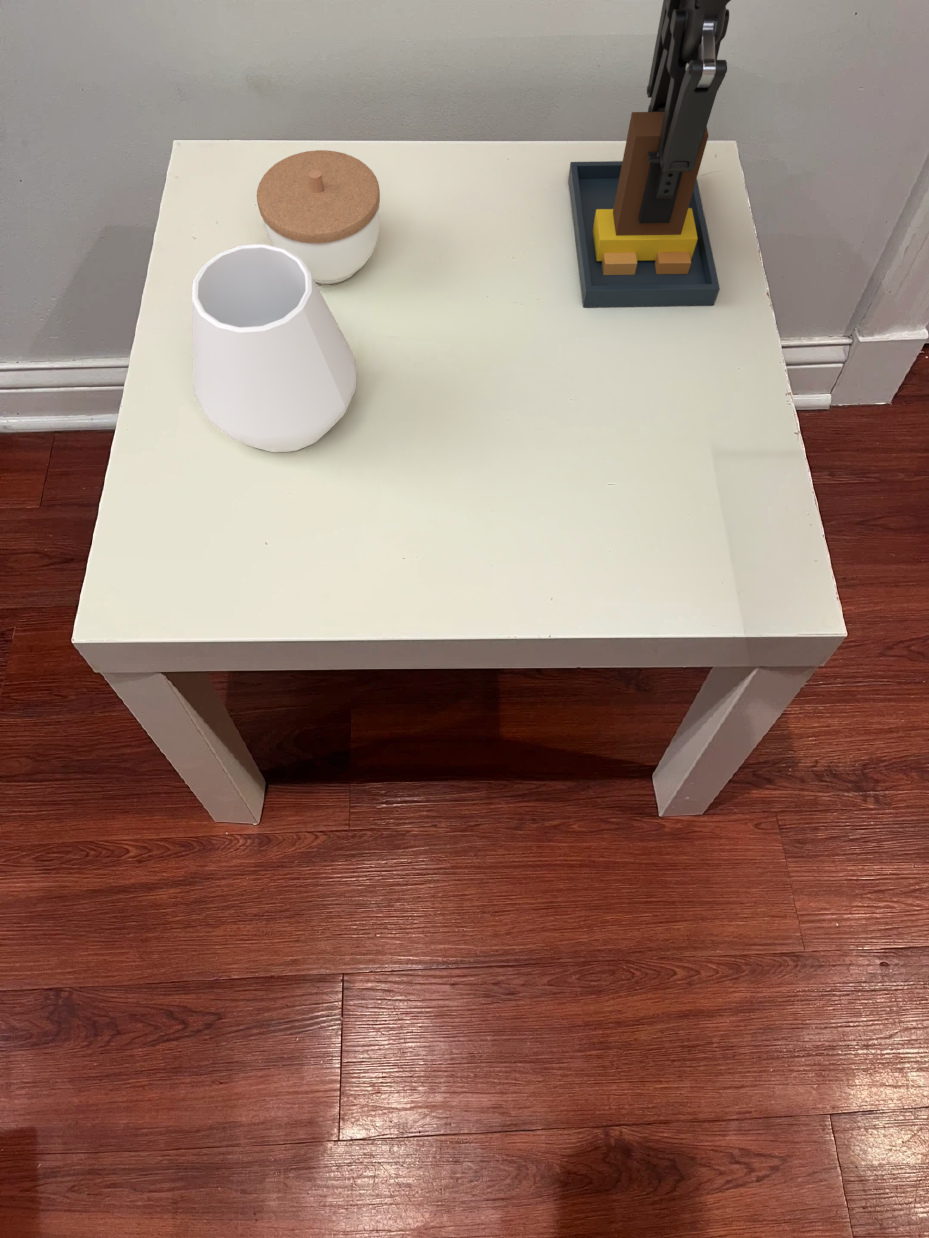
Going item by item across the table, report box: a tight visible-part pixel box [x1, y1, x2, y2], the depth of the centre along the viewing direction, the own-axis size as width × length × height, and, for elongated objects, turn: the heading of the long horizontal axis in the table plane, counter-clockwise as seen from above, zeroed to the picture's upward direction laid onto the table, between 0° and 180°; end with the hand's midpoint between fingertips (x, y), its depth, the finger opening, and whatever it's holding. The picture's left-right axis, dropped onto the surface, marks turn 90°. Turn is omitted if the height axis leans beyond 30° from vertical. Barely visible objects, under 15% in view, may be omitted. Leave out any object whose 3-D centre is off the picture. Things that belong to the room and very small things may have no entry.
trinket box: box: [256, 149, 381, 285], centre depth 81 cm, size 11×11×9 cm
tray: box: [567, 160, 721, 309], centre depth 86 cm, size 17×12×2 cm
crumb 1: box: [602, 253, 637, 275], centre depth 84 cm, size 1×3×1 cm, turn 92°
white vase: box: [191, 243, 357, 454], centre depth 71 cm, size 13×13×14 cm
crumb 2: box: [655, 252, 691, 274], centre depth 84 cm, size 1×3×1 cm, turn 92°
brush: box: [593, 111, 709, 261], centre depth 80 cm, size 9×4×12 cm, turn 92°
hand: (651, 205), depth 81 cm, fingers closed on brush, 3 cm apart
